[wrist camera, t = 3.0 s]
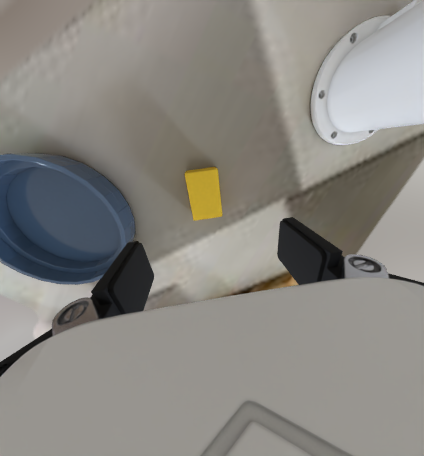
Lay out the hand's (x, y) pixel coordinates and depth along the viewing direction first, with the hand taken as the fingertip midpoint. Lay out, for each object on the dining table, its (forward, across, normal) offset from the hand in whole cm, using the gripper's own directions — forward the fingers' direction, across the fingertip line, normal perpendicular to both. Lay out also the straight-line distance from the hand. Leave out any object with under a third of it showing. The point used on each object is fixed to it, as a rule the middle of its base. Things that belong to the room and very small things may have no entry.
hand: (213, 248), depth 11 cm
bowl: (+16, +22, +1) cm, 27 cm away
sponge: (+16, 0, 0) cm, 16 cm away
